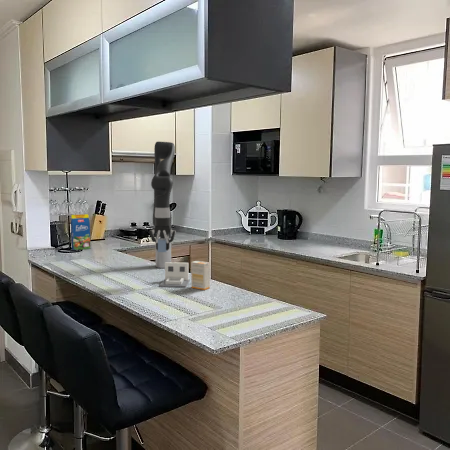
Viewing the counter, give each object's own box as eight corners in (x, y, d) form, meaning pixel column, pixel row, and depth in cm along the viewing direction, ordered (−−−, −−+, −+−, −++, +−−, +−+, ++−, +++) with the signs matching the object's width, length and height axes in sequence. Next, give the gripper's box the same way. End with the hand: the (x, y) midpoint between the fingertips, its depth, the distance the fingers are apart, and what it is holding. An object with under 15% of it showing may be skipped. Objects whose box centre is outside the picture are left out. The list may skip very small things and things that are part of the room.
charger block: (159, 250, 233) (159, 238, 233) (167, 250, 233) (167, 238, 232) (157, 252, 229) (157, 239, 229) (165, 252, 229) (165, 239, 228)
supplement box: (210, 288, 225) (210, 262, 223) (204, 290, 221) (204, 263, 219) (196, 285, 230) (196, 260, 228) (190, 287, 226) (190, 261, 224)
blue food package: (90, 248, 331) (89, 214, 328) (73, 250, 325) (72, 215, 322) (88, 247, 337) (87, 213, 334) (71, 248, 330) (70, 214, 327)
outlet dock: (164, 280, 240) (164, 262, 239) (189, 281, 239) (189, 262, 238) (159, 286, 227) (159, 267, 226) (185, 287, 226) (185, 267, 225)
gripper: (177, 215, 232) (178, 249, 234) (150, 215, 233) (150, 248, 236) (175, 217, 225) (175, 251, 227) (146, 216, 226) (147, 251, 228)
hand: (162, 250), depth 231 cm, fingers closed on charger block, 4 cm apart
